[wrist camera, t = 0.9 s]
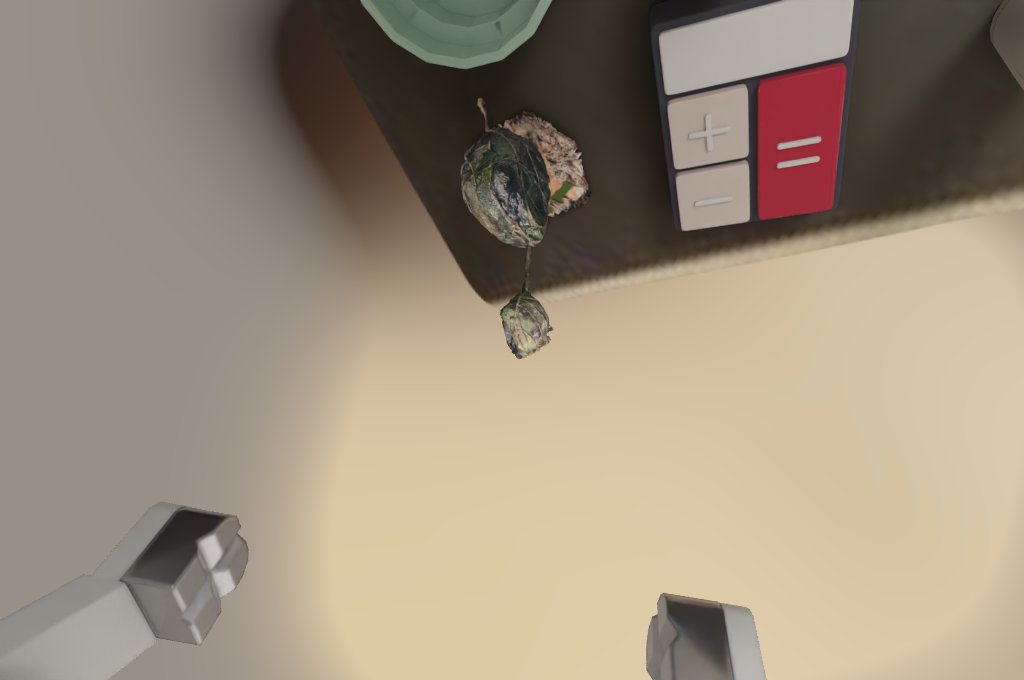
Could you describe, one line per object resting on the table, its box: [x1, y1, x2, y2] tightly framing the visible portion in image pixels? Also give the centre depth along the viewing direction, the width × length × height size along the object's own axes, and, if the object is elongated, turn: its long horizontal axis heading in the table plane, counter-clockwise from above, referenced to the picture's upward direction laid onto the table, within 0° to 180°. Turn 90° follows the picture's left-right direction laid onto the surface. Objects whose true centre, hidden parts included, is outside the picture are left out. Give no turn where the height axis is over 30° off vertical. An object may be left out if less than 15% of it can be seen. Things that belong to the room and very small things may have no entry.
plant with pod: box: [461, 98, 591, 359], centre depth 37 cm, size 8×11×20 cm
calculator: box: [650, 0, 861, 232], centre depth 37 cm, size 11×4×15 cm
